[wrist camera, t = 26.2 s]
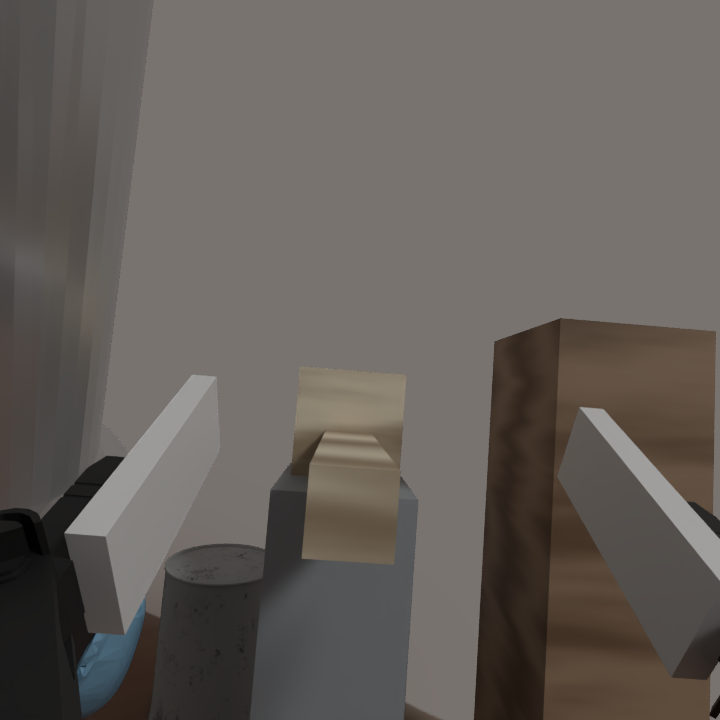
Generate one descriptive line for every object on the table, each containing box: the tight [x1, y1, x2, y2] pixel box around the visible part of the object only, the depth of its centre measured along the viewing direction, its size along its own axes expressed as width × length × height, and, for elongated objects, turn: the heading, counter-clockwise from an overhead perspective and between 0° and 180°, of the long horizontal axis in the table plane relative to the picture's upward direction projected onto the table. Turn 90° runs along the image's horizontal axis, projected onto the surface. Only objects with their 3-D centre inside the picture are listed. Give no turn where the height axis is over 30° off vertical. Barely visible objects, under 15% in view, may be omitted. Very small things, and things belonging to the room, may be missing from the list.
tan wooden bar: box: [291, 367, 406, 565], centre depth 25 cm, size 20×7×7 cm, turn 2°
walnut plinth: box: [474, 318, 716, 720], centre depth 27 cm, size 10×8×32 cm
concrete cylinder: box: [148, 544, 265, 720], centre depth 40 cm, size 10×10×12 cm
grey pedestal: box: [250, 463, 418, 720], centre depth 29 cm, size 10×8×22 cm
